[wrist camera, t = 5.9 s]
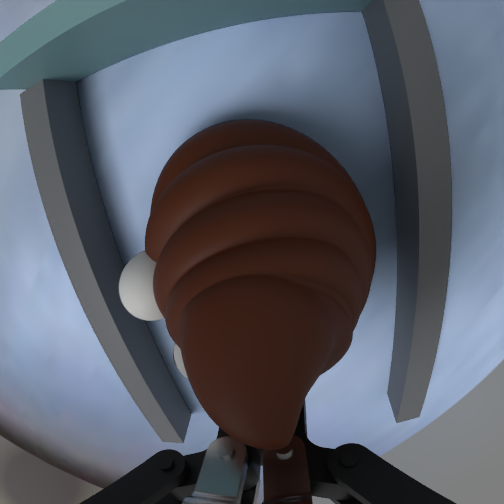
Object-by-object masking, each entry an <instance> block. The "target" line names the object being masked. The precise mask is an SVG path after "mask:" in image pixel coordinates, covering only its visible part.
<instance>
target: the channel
mask: <svg viewBox="0 0 504 504" xmlns="http://www.w3.org/2000/svg"><path fill="white" fill-rule="evenodd" d="M329 12H362V13H363V17H364V20H365V23H366V27H367V30H368V34H369V38H370V42H371V45H372V49H373V53H374V58H375V62H376V66H377V71H378V75H379V80H380V85H381V90H382V95H383V101H384V106H385V112H386V119H387V125H388V132H389V139H390V147H391V155H392V165H393V175H394V187H395V201H396V220H397V298H396V317H395V331H394V343H393V353H392V362H391V370H390V378H389V385H388V392H387V394H388V397H389V401H390V404H391V407H392V410H393V413H394V417H395V420H396V423H399V422H402V421H406V420H410V419H414V418H417V417H419V416H420V413H421V410H422V407H423V403H424V400H425V396H426V393H427V389H428V386H429V382H430V378H431V374H432V370H433V366H434V362H435V357H436V353H437V348H438V343H439V338H440V332H441V327H442V321H443V315H444V308H445V301H446V294H447V286H448V276H449V266H450V253H451V234H452V178H451V160H450V147H449V136H448V127H447V119H446V112H445V105H444V99H443V93H442V87H441V82H440V77H439V72H438V67H437V63H436V58H435V54H434V50H433V46H432V42H431V39H430V35H429V31H428V28H427V25H426V21H425V18H424V15H423V12H422V9H421V6H420V3H419V0H57V1H55V2H54V3H52V4H51V5H49V6H48V7H46V8H45V9H43V10H42V11H40V12H39V13H37V14H36V15H35V16H33V17H32V18H31V19H29V20H28V21H27V22H25V23H24V24H23V25H21V26H20V27H19V28H17V29H16V30H15V31H14V32H12V33H11V34H10V35H9V36H8V37H6V38H5V39H4V40H3V41H2V42H1V43H0V90H6V89H27V90H26V91H24V92H23V93H21V94H20V98H21V106H22V113H23V119H24V125H25V131H26V136H27V142H28V147H29V151H30V156H31V160H32V165H33V169H34V173H35V177H36V181H37V185H38V188H39V192H40V196H41V199H42V202H43V206H44V209H45V212H46V216H47V219H48V222H49V225H50V228H51V231H52V234H53V237H54V239H55V242H56V245H57V248H58V250H59V253H60V256H61V258H62V261H63V264H64V266H65V269H66V271H67V274H68V276H69V278H70V281H71V283H72V285H73V288H74V290H75V292H76V295H77V297H78V299H79V301H80V303H81V306H82V308H83V310H84V312H85V314H86V316H87V318H88V320H89V322H90V324H91V326H92V328H93V330H94V332H95V334H96V336H97V338H98V340H99V342H100V344H101V346H102V347H103V349H104V351H105V353H106V355H107V357H108V358H109V360H110V362H111V364H112V365H113V367H114V369H115V371H116V372H117V374H118V376H119V377H120V379H121V381H122V382H123V384H124V386H125V387H126V389H127V390H128V392H129V394H130V395H131V397H132V398H133V400H134V401H135V403H136V404H137V406H138V407H139V409H140V410H141V412H142V413H143V415H144V416H145V418H146V419H147V421H148V422H149V424H150V425H151V426H152V428H153V429H154V431H155V432H156V433H157V435H158V436H159V437H160V439H161V440H162V441H163V442H175V443H184V439H185V436H186V432H187V428H188V425H189V421H190V417H191V413H190V411H189V409H188V408H187V406H186V404H185V402H184V400H183V398H182V396H181V395H180V393H179V391H178V389H177V387H176V385H175V383H174V381H173V379H172V377H171V375H170V373H169V371H168V369H167V367H166V365H165V363H164V361H163V359H162V356H161V354H160V352H159V350H158V348H157V346H156V344H155V341H154V339H153V337H152V335H151V333H150V330H149V328H148V326H147V323H146V321H145V320H142V319H139V318H137V317H135V316H133V315H132V314H131V313H129V312H128V311H127V309H126V308H125V307H124V305H123V303H122V301H121V299H120V294H119V281H120V277H121V274H122V271H123V269H124V266H123V263H122V260H121V257H120V254H119V252H118V249H117V246H116V243H115V240H114V237H113V234H112V231H111V228H110V225H109V222H108V218H107V215H106V212H105V209H104V205H103V202H102V198H101V195H100V191H99V188H98V184H97V180H96V177H95V173H94V169H93V165H92V161H91V157H90V153H89V149H88V144H87V140H86V135H85V131H84V126H83V121H82V116H81V111H80V105H79V99H78V94H77V87H76V82H77V81H79V80H81V79H83V78H85V77H87V76H89V75H91V74H93V73H95V72H97V71H99V70H102V69H104V68H106V67H108V66H110V65H113V64H115V63H117V62H120V61H122V60H124V59H127V58H129V57H132V56H134V55H137V54H139V53H142V52H145V51H147V50H150V49H153V48H156V47H158V46H161V45H164V44H167V43H170V42H173V41H176V40H180V39H183V38H186V37H190V36H193V35H197V34H200V33H204V32H208V31H212V30H216V29H220V28H224V27H228V26H233V25H238V24H243V23H248V22H253V21H259V20H265V19H271V18H278V17H285V16H294V15H303V14H314V13H329Z"/></svg>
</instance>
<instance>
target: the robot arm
mask: <svg viewBox="0 0 504 504" xmlns="http://www.w3.org/2000/svg"><path fill="white" fill-rule="evenodd" d="M262 465H263V482H264V501H263V502H262V504H312V496H317V497H322V498H329V499H331V500H332V501H333V502H334V503H335V504H456V503H454V502H452V501H451V500H449V499H447V498H445V497H443V496H442V495H440V494H438V493H436V492H435V491H433V490H431V489H430V488H428V487H426V486H425V485H422V484H421V483H419V482H418V481H416V480H415V479H413V478H411V477H410V476H408V475H407V474H405V473H403V472H402V471H400V470H399V469H397V468H395V467H394V466H392V465H391V464H389V463H388V462H386V461H385V460H383V459H382V458H380V457H379V456H377V455H376V454H374V453H373V452H371V451H370V450H369V449H367V448H366V447H364V446H362V445H360V444H355V443H349V444H344V445H341V446H339V447H337V448H336V449H330V448H323V447H319V446H317V445H315V444H313V443H312V442H310V441H309V439H308V438H307V424H306V407H305V400H304V403H303V406H302V409H301V412H300V416H299V419H298V423H297V426H296V429H295V432H294V435H293V437H292V439H291V441H290V443H289V444H288V445H287V446H286V447H284V448H281V449H277V450H264V449H259V448H255V447H252V446H249V445H246V444H244V443H242V442H240V441H238V440H236V439H235V438H233V437H231V436H230V435H228V434H227V433H226V432H225V431H223V430H222V429H221V428H220V427H219V431H218V436H217V439H216V440H214V441H213V442H212V443H211V444H210V445H209V447H208V449H206V450H204V451H202V452H199V453H194V454H190V455H185V456H183V455H182V454H181V453H179V452H178V451H175V450H170V449H169V450H162V451H160V452H158V453H156V454H155V455H153V456H152V457H150V458H149V459H148V460H146V461H145V462H143V463H142V464H141V465H139V466H138V467H136V468H135V469H133V470H132V471H130V472H129V473H127V474H126V475H124V476H123V477H121V478H120V479H118V480H117V481H115V482H114V483H112V484H111V485H109V486H108V487H106V488H104V489H103V490H101V491H100V492H98V493H96V494H95V495H93V496H91V497H90V498H88V499H87V500H85V501H83V502H81V503H80V504H257V499H258V493H259V487H260V466H262Z"/></svg>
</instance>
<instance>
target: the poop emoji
mask: <svg viewBox="0 0 504 504" xmlns="http://www.w3.org/2000/svg"><path fill="white" fill-rule="evenodd" d="M375 261H376V241H375V234H374V228H373V224H372V221H371V218H370V215H369V212H368V210H367V207H366V205H365V203H364V201H363V199H362V197H361V194H360V192H359V191H358V189H357V187H356V185H355V184H354V182H353V181H352V179H351V178H350V176H349V175H348V173H347V172H346V171H345V169H344V168H343V167H342V166H341V165H340V163H339V162H338V161H337V160H336V159H335V158H334V157H333V156H332V155H331V154H330V153H329V152H328V151H326V150H325V149H324V148H323V147H322V146H320V145H319V144H318V143H316V142H315V141H314V140H312V139H311V138H309V137H307V136H306V135H304V134H302V133H300V132H298V131H296V130H294V129H292V128H289V127H287V126H284V125H281V124H277V123H274V122H269V121H263V120H251V119H245V120H233V121H228V122H223V123H220V124H216V125H213V126H211V127H208V128H206V129H204V130H202V131H200V132H198V133H197V134H195V135H194V136H192V137H191V138H189V139H188V140H187V141H186V142H184V143H183V144H182V145H181V146H180V147H179V148H178V149H177V150H176V151H175V152H174V153H173V155H172V156H171V157H170V159H169V160H168V161H167V163H166V165H165V166H164V168H163V170H162V172H161V174H160V176H159V178H158V181H157V184H156V187H155V190H154V194H153V198H152V204H151V213H150V217H149V220H148V224H147V228H146V235H145V251H142V252H140V253H139V254H137V255H136V256H134V257H133V258H132V259H131V260H130V261H129V262H128V263H127V265H126V266H125V268H124V269H123V271H122V274H121V277H120V281H119V294H120V299H121V301H122V303H123V305H124V307H125V308H126V309H127V311H128V312H129V313H131V314H132V315H133V316H135V317H137V318H139V319H142V320H147V321H155V320H160V319H163V318H165V321H166V326H167V330H168V332H169V334H170V336H171V338H172V339H173V341H174V342H175V344H174V352H173V358H174V362H175V365H176V367H177V368H178V370H179V371H180V372H181V373H182V374H183V375H184V376H185V377H186V378H187V379H189V382H190V384H191V386H192V389H193V391H194V393H195V395H196V397H197V399H198V401H199V402H200V404H201V405H202V407H203V409H204V410H205V411H206V413H207V414H208V415H209V417H210V418H211V419H212V420H213V421H214V422H215V423H216V424H217V425H218V426H219V427H220V428H221V429H222V430H223V431H225V432H226V433H227V434H228V435H230V436H231V437H233V438H235V439H236V440H238V441H240V442H242V443H244V444H246V445H249V446H252V447H255V448H259V449H264V450H277V449H281V448H284V447H286V446H287V445H288V444H289V443H290V441H291V439H292V437H293V435H294V432H295V429H296V426H297V423H298V419H299V416H300V412H301V409H302V406H303V403H304V400H305V397H306V395H307V393H308V392H309V390H310V389H311V387H312V386H313V384H314V383H315V381H316V380H317V379H318V377H319V376H320V375H321V374H323V373H324V372H326V371H327V370H329V369H330V368H332V367H333V366H334V365H335V364H336V363H337V362H338V361H340V359H341V358H342V357H343V356H344V355H345V353H346V352H347V351H348V349H349V347H350V345H351V342H352V336H353V331H354V329H355V327H356V324H357V322H358V319H359V316H360V314H361V312H362V310H363V308H364V306H365V303H366V301H367V298H368V295H369V291H370V286H371V281H372V278H373V274H374V268H375Z"/></svg>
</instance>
